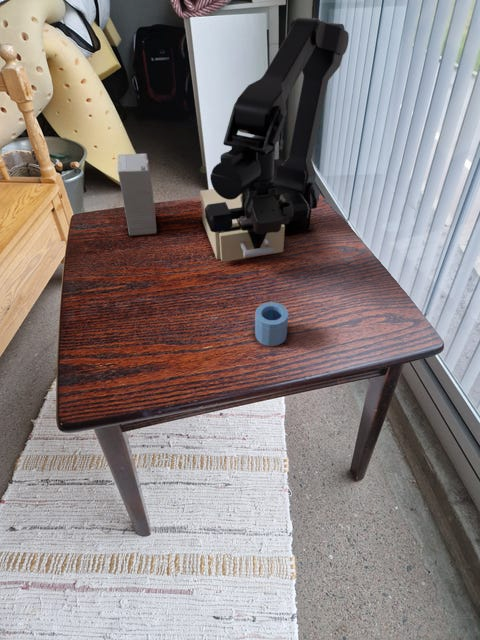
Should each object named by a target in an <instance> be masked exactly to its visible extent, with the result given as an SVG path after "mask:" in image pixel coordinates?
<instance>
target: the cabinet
mask: <svg viewBox="0 0 480 640" xmlns="http://www.w3.org/2000/svg"><path fill="white" fill-rule="evenodd" d="M199 196H200V206H201V218H202V224H203V227H204V229H205V232H206V235H207V237H208V240H209V243H210V245H211V249H212V250H213V254H214V256H215V259H216V260H221V255H220V243H219V232H212V231H211V230H210V228H209V225H208V223H207V220H206V217H205V208H206V206H207V205H208V204H215V203H222V202H226V204H227V206H228V208H229V209H233V208H240V207H242V203H241V195H240V196H238V197H237V198H235V199H232V200H228V199H225V198H223V197H221V196H220V195H219V194H218V193H217V192H216V191H215V190H214V188H211V189H203V190H200V191H199ZM236 226H239V224H238V222H237V220H236V219H233V220H232V227H236Z"/></svg>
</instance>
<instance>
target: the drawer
mask: <svg viewBox="0 0 480 640" xmlns="http://www.w3.org/2000/svg"><path fill="white" fill-rule="evenodd" d="M284 231H285V226H284V224H283V225H282V226H281V230H280V231H279V232H275V233H274V232H271V233H267V234H266V236H265V238H264V241H263V243H262V245H261V247H260V248H257V249H254V247H253V245H252V242H251V240H250V237H249V234H248V232H247V231H243V230H241V228H240V226H236V227H231V228H230V229H229V230H227V231H220V232H219V243H220V255H221V259H220V261H221V263H225V262H230V261H237V260H242V259H250V258H254V257H259V256H260V257H261V256H267V255H273V254H279V253H284V246H285V245H284V244H285V233H284Z"/></svg>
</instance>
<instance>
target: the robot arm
mask: <svg viewBox="0 0 480 640" xmlns="http://www.w3.org/2000/svg"><path fill="white" fill-rule="evenodd" d="M288 30H289V31H288V33H287V35H286V36H285V39H284V40H283V42H282V43H281V45H280V47H279V49H278V50H277V52H276V54H275V55H274V57H273V58H272V60H271V62H270V64H269V66H268V67H267V69H266V71H265V72H264V74H263V76H262V77H260V78H259V79H258V80H256V81H254V82H252V83H250V84H248V85H247V86H246V88H245V89H244V90H243V91H242V92H241V94H239V96H238V97H237V99H236V101H235V102H234V104H233V108H232V110H231V114H230V117H229V121H228V125H227V127H226V132H225V135H224V138H223V145H224V146H227V147H231V149H230V150H228V151H226V152H223V153H222V154H221V155H220V156H219V157H220V162H218V163H217V164H216V165H215V166H214V167H213V168H212V170H211V173H210V177H209V179H210V183H211V187H212V189H214V190H215V191H216V192H217V193H218V194H219V195H220V196H221V197H223V198H225V199H228V200H232V199H235V198H237V197H238V196H240V195H241V203H242V207H240V208H233V209H229V208H228V206H227V204H226V202H222V203H215V204H208V205H207V206H206V208H205V217H206V220H207V223H208V225H209V228H210V230H211V231H212V232H220V231H227V230H229V229H230V228H231V227H232V220H233V219H236V220H237V222H238V224H239V226H240V228H241V230H243V231H247V232H248V234H249V237H250V240H251V242H252V245H253V247H254V249H257V248H260V247H261V245H262V243H263V241H264V238H265V236H266V234H267V233H271V232H274V233H275V232H279V231H280V230H281V226H282V225H283V224H284V226H285V231H284V235H285V236H290V235H297V234H302V233H309V232H312V231H313V227H312V226H311V217H312V216H311V215H312V209H317V208H318V203H319V200H320V194H321V192H320V190H319V188H318V187H317V186H316V184H315V182H316V177H317V173H316V170H315V167H314V163H313V161H312V158H313V153H314V149H315V144H316V140H317V135H318V131H319V125H320V121H321V117H322V112H323V106H324V102H325V98H326V93H327V89H328V88H327V87H328V85H329V84H328V83H329V81H330V80H331V78H332V77H333V76H334V74H336V72H337V71H338V69H339V68H340V67H341V65H342V64H341V63H342V61H343V57H344V55H345V54H346V52H347V49H348V45H349V40H350V39H349V38H350V36H349V35H350V34H349V32H348V31H347V30H346V29H345V25H344V24H343V23H336V22H335V23H334V22H325V21H324V20H321V19H320V18H314V17H303V16H302V17H301V16H299V17H296V18H293V20H292V21H291V22H290V25H289V29H288ZM301 74H302V75H303V77H302V78H303V79H302V83H301V89H300V94H299V99H298V104H297V110H296V114H295V115H296V116H295V120H294V127H293V132H292V137H291V142H290V147H289V152H288V157H287V158H286V159H285V160H284V162H283V163H282V164H279V165H278V166H277V168H276V174H275V161H276V145H277V143H278V142H279V141H281V137H280V134H281V132H282V129H283V127H284V125H285V122H286V117H287V113H288V112H287V103H286V101H287V100H288V97H289V95H290V93H291V91H292V89H293V88H294V86H295V85H296V82H297V81H298V79H299V77H300V75H301ZM239 132H240V133H242V134H246V135H241V134H238V133H239ZM247 134H248V135H251V136H247ZM275 175H276V176H275Z"/></svg>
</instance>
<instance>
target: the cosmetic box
mask: <svg viewBox="0 0 480 640" xmlns="http://www.w3.org/2000/svg"><path fill="white" fill-rule="evenodd" d="M148 158H149V157H148V154H147V153H124V154H118V155H117V174H118V178H119V179H118V180H119V184H120V190H121V196H122V202H123V206H124V208H123V209H124V212H125V218H126V224H127V225H126V226H127V229H128V235H129V236H130V237H131V236H142V235H152V234H157V220H156V210H155V209H156V208H155V200H154V190H153V183H152V177H151V171H150V165H149V163H150V162H149V159H148Z"/></svg>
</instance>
